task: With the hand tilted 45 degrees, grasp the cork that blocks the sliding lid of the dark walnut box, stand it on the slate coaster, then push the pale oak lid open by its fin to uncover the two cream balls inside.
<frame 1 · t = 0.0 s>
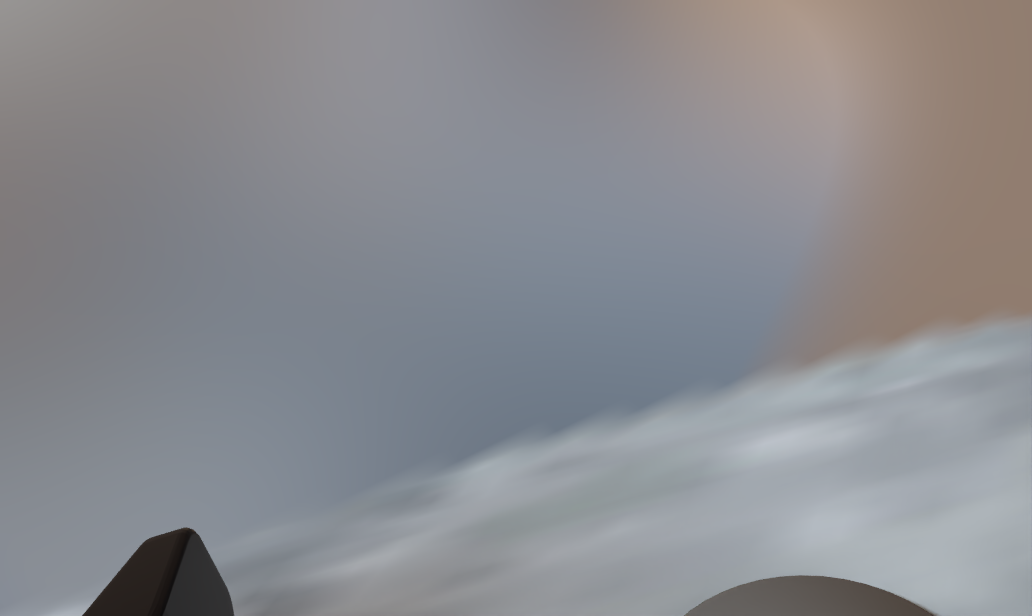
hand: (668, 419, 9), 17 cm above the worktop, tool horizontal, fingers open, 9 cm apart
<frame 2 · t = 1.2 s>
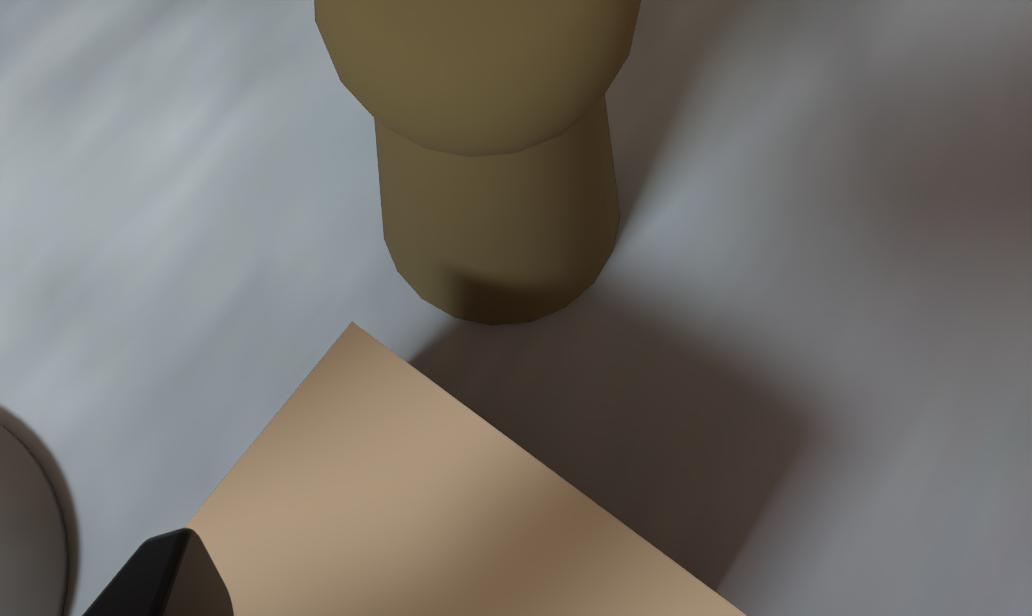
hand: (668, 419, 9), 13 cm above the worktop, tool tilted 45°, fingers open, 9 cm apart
cork: (500, 213, 24), on the worktop
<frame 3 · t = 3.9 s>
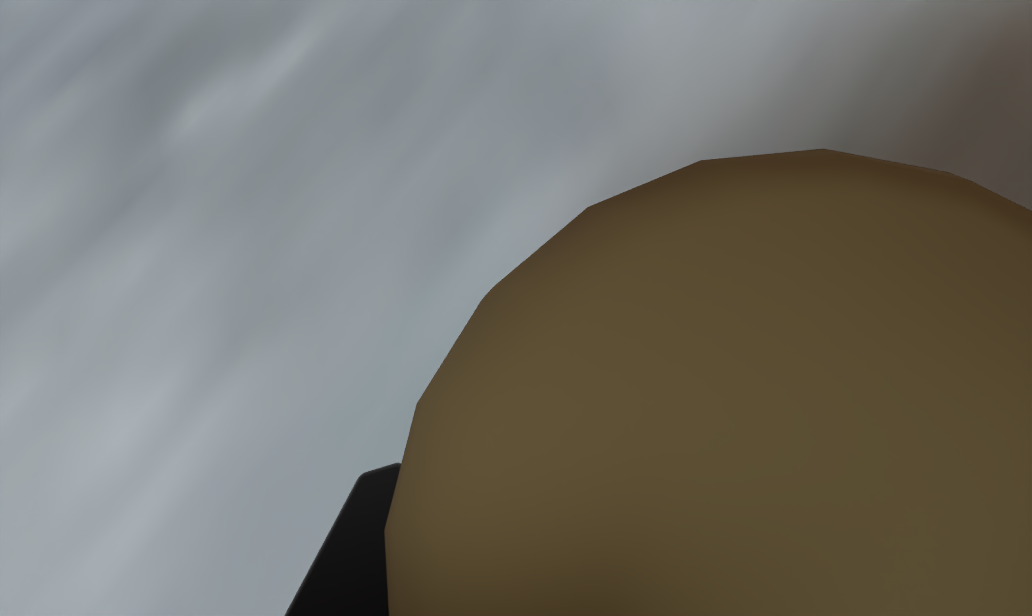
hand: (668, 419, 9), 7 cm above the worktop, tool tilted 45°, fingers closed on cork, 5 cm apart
cork: (642, 570, 15), on the worktop, touching gripper
when the fingers open (8 cm above the worktop, at t = 7.6 s): cork stays where it is, resting on slate coaster.
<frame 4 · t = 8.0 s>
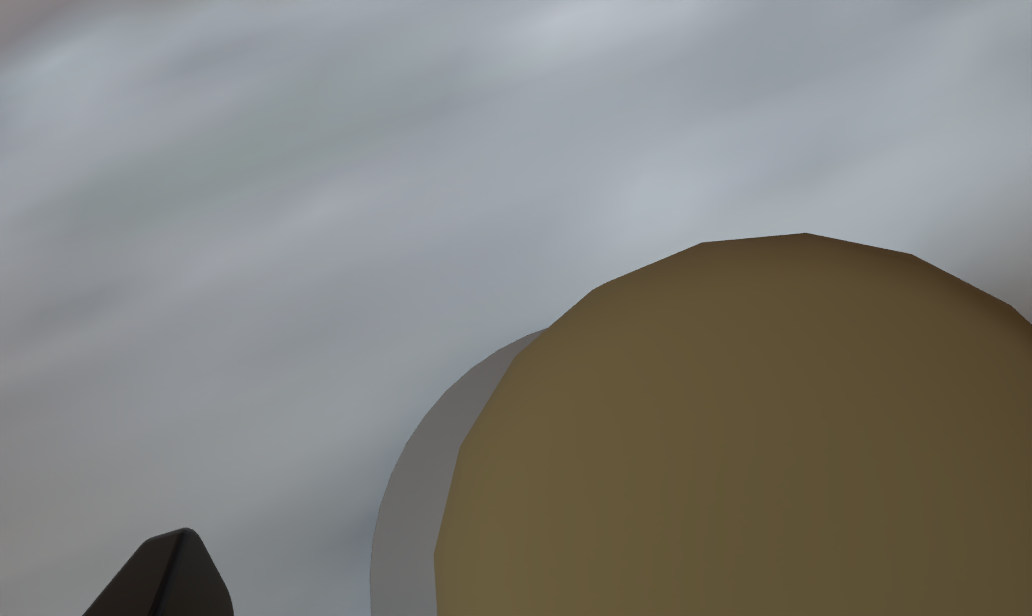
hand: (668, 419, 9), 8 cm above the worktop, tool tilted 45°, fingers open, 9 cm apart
cork: (645, 578, 16), resting on slate coaster
slate coaster: (633, 571, 16), on the worktop
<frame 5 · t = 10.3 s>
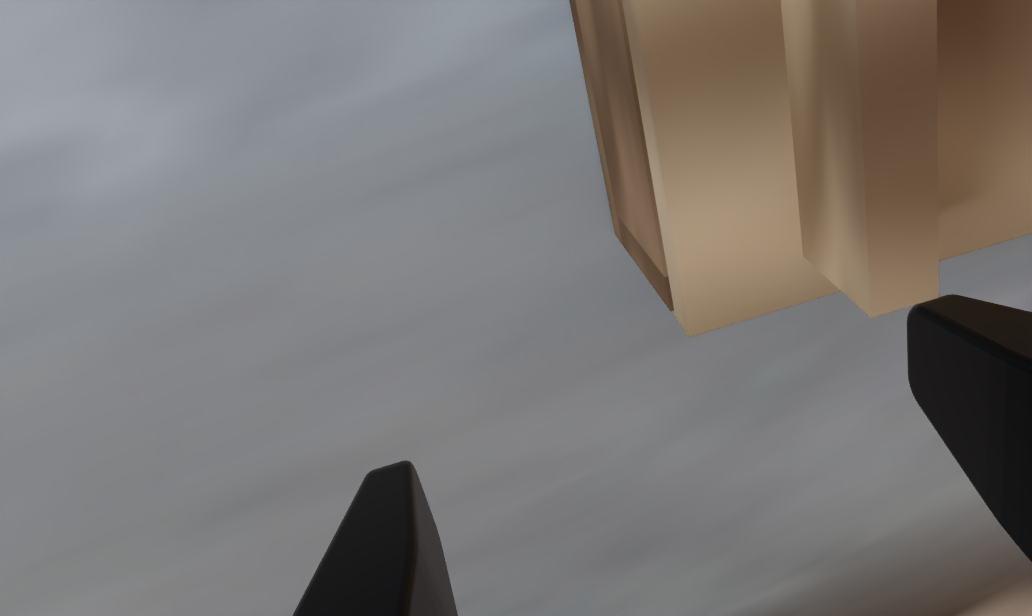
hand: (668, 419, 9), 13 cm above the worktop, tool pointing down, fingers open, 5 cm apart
lid: (1015, 30, 16), point 6 cm above the worktop, slide at 0.0 cm
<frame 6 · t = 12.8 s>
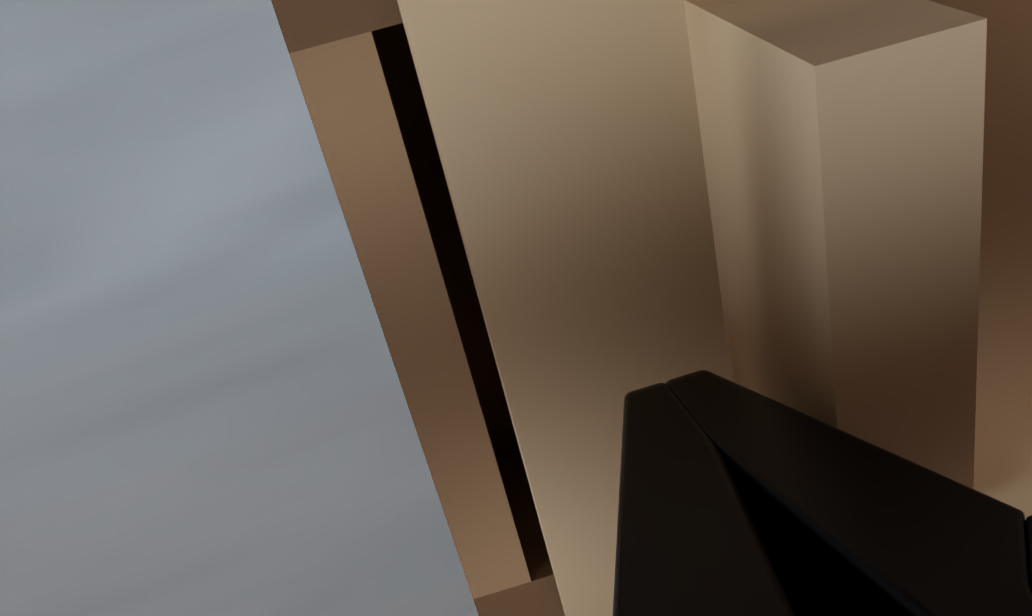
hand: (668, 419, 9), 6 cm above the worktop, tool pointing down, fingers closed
walnut box: (753, 128, 15), on the worktop
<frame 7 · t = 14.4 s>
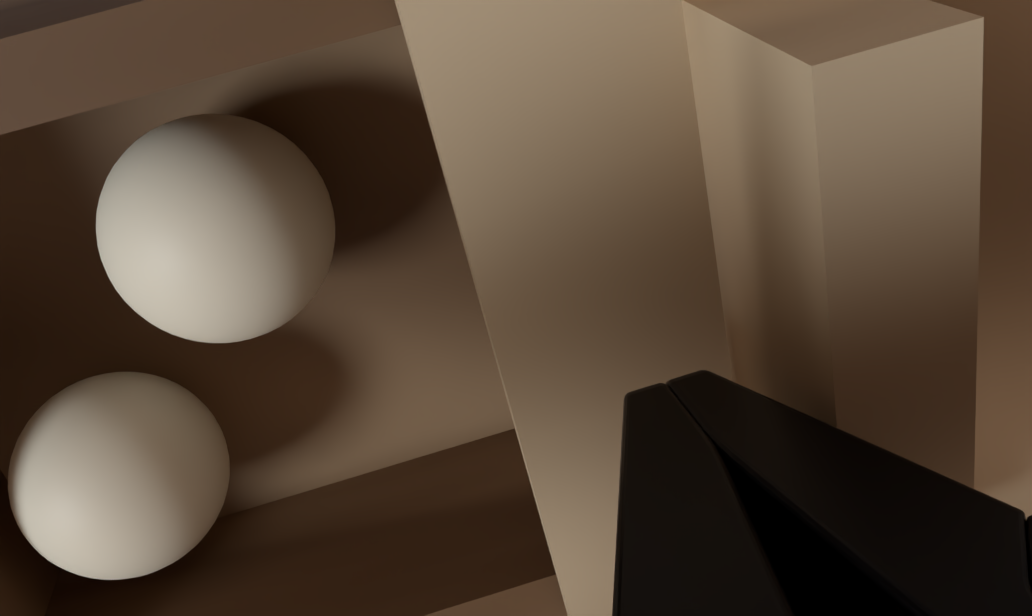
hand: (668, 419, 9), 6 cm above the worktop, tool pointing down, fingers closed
ball b: (219, 229, 12), point 2 cm above the worktop, touching walnut box
walnut box: (301, 257, 14), on the worktop
ball a: (123, 473, 13), point 2 cm above the worktop, touching walnut box
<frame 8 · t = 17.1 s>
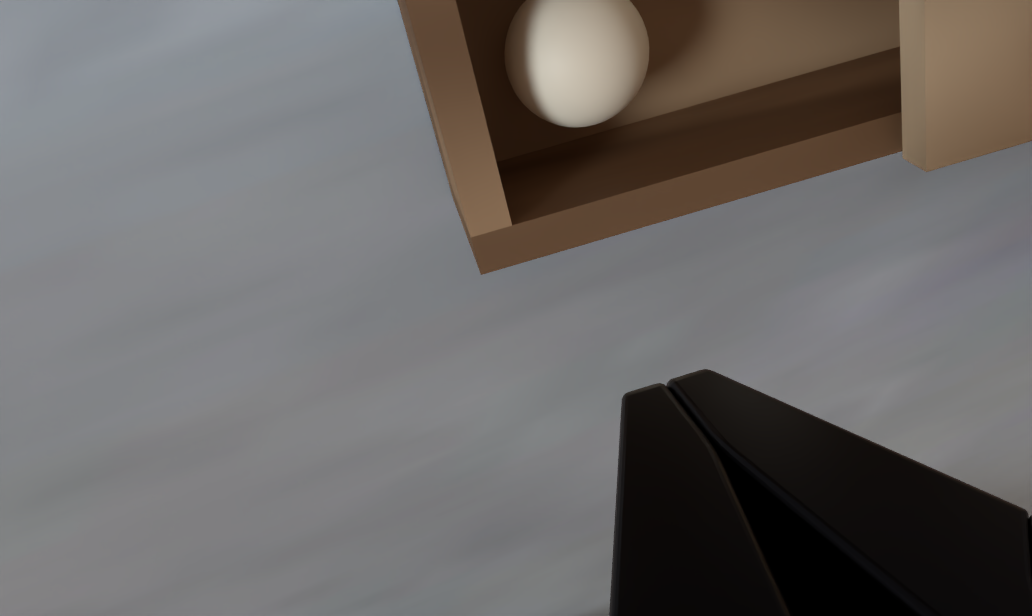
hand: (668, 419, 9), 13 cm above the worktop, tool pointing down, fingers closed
ball a: (576, 53, 18), point 2 cm above the worktop, touching walnut box
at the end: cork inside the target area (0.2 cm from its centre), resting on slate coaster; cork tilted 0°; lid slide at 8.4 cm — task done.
